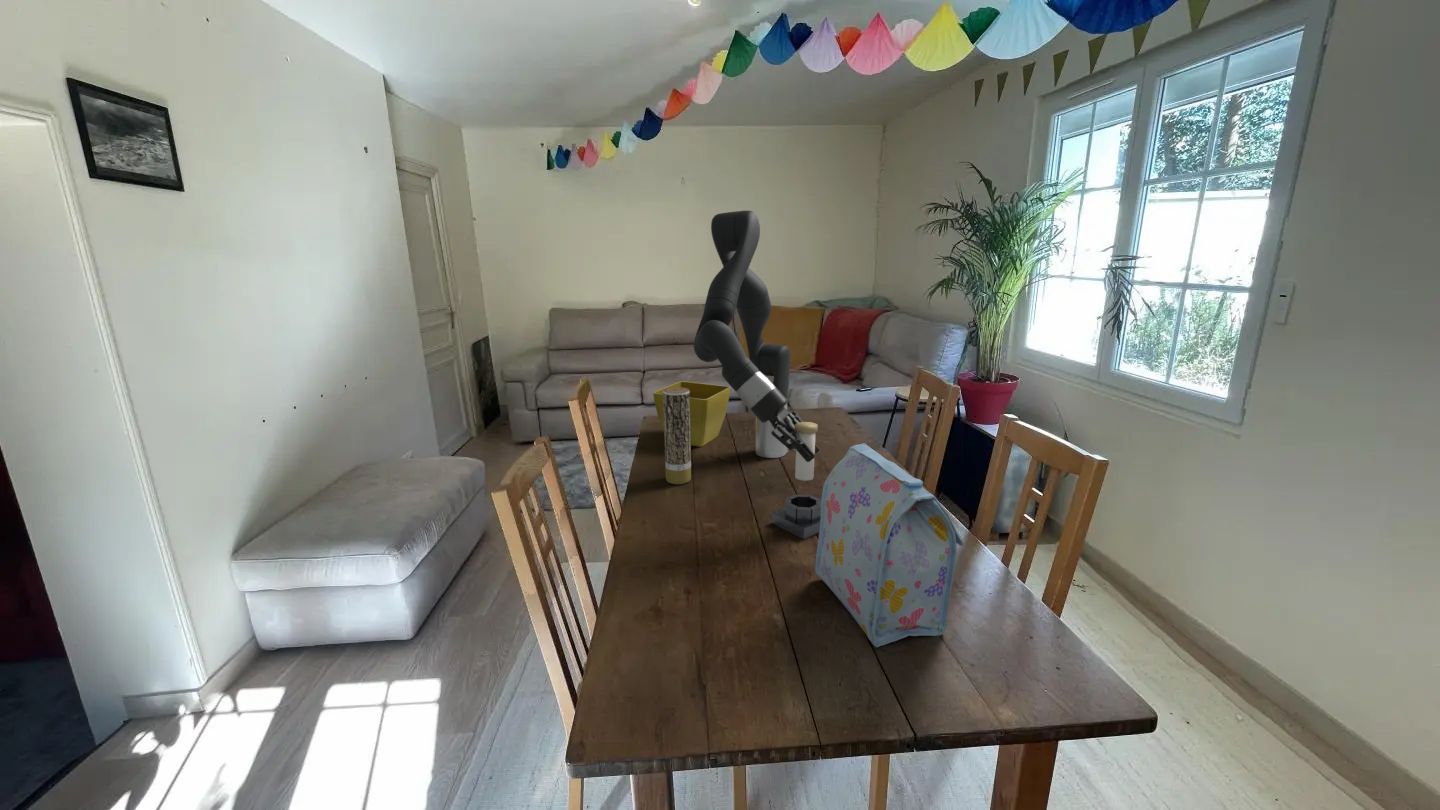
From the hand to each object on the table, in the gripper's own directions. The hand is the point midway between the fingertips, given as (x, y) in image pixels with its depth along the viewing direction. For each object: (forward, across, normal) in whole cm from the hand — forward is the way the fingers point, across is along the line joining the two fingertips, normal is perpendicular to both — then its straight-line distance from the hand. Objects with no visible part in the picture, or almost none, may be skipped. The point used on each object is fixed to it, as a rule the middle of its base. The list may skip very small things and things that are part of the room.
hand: (813, 455), depth 127 cm
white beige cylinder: (+2, 0, +5) cm, 6 cm away
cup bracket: (+10, 0, +13) cm, 17 cm away
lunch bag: (+25, -25, -1) cm, 35 cm away
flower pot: (-23, +47, +47) cm, 71 cm away
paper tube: (-16, +14, +40) cm, 45 cm away
